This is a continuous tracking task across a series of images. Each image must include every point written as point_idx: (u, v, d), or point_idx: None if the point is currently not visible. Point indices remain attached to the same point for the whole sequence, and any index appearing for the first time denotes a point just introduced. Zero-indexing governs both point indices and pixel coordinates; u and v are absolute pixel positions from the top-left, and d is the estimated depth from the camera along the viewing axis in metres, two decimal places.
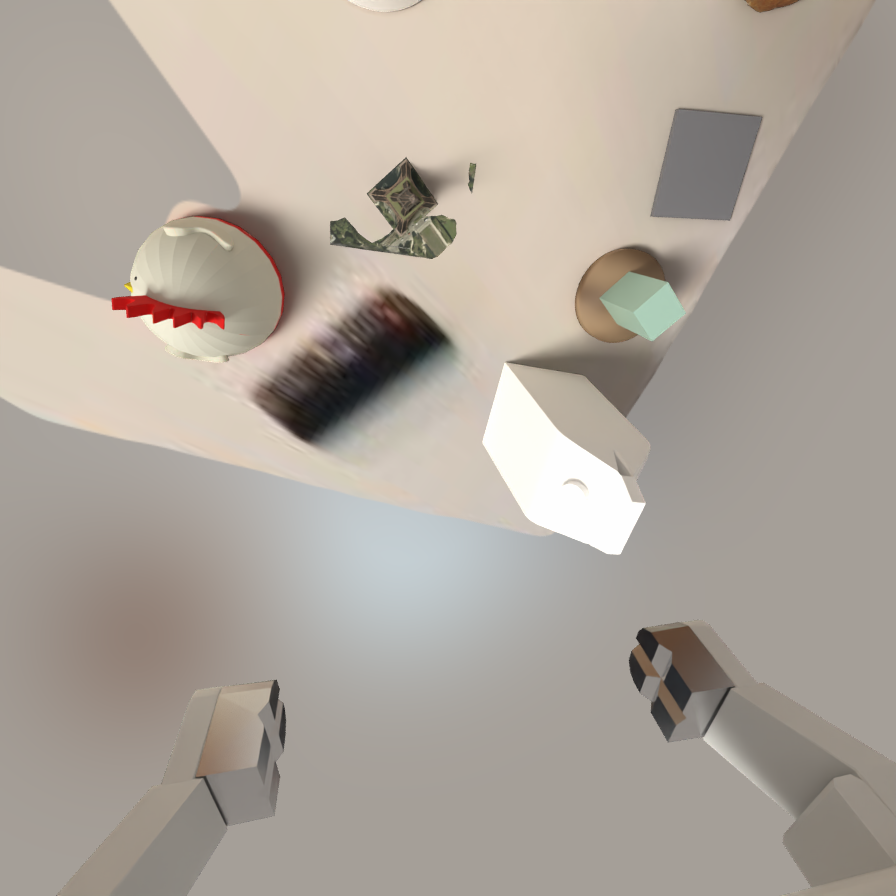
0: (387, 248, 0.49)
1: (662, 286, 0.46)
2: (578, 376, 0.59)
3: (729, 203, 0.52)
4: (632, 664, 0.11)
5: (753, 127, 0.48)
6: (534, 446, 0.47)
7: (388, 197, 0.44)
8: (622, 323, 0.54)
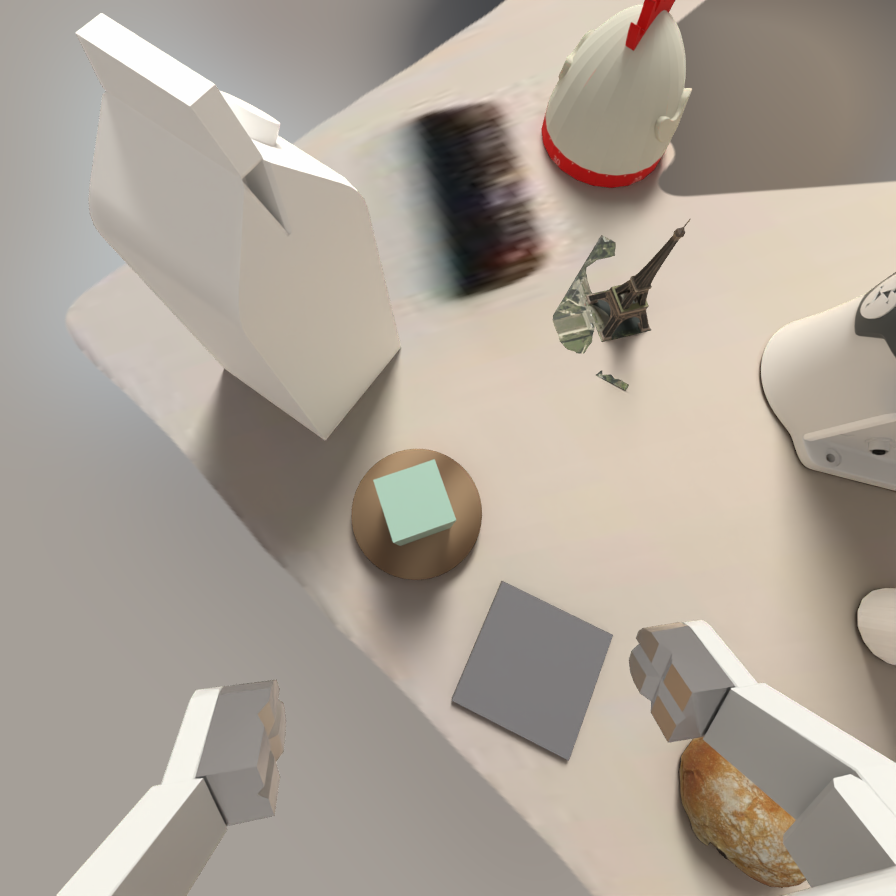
0: (579, 280, 0.45)
1: (452, 511, 0.30)
2: (331, 426, 0.39)
3: (475, 701, 0.35)
4: (632, 664, 0.11)
5: (560, 745, 0.35)
6: None
7: None
8: None
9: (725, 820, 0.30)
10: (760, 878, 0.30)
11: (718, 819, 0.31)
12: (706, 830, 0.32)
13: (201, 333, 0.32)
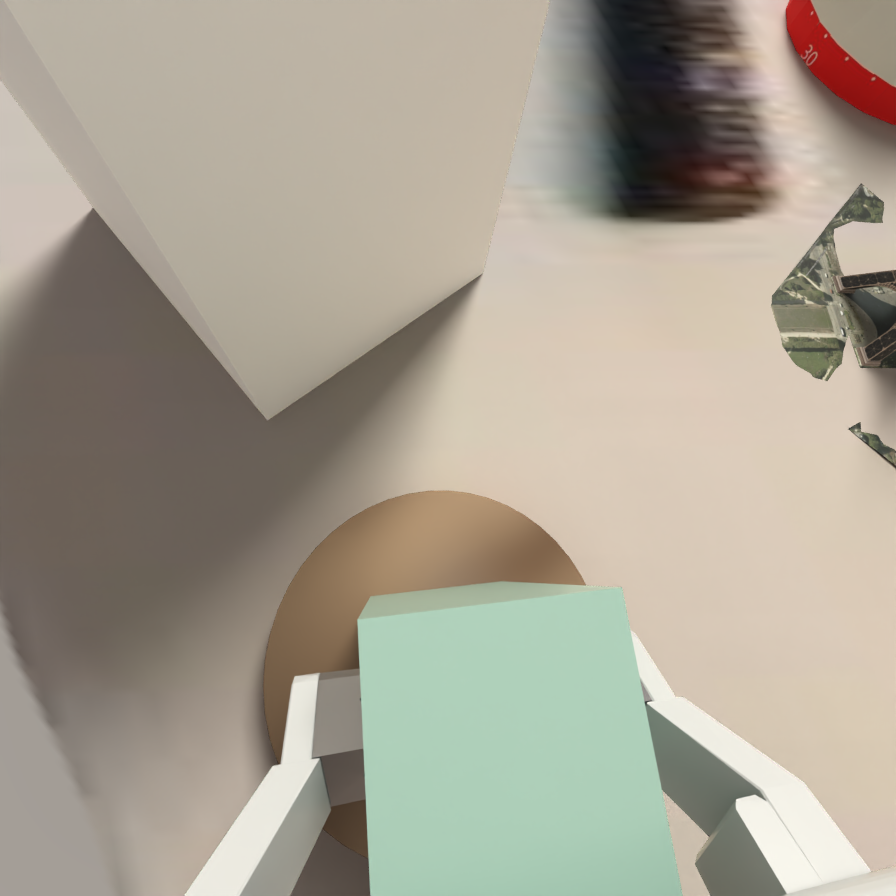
0: (821, 246, 0.24)
1: (668, 850, 0.07)
2: (289, 389, 0.16)
3: None
4: None
5: None
6: None
7: None
8: (398, 596, 0.12)
9: None
10: None
11: None
12: None
13: None
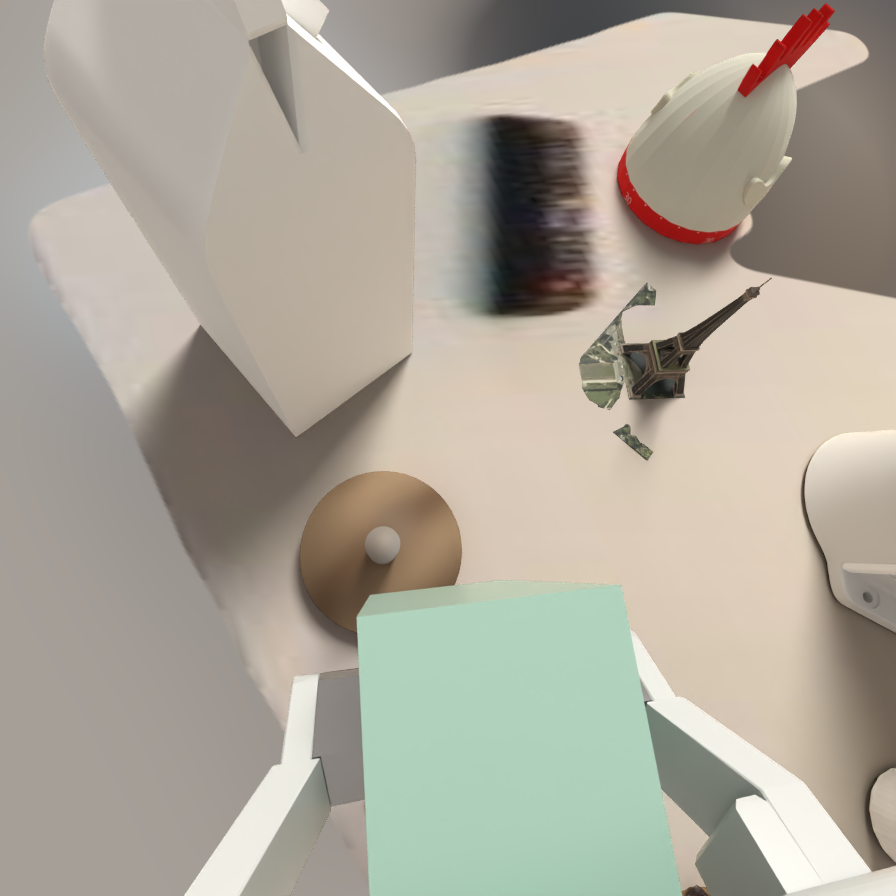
0: (615, 325, 0.40)
1: (667, 847, 0.07)
2: (307, 422, 0.33)
3: None
4: None
5: None
6: None
7: None
8: (398, 594, 0.12)
9: None
10: None
11: None
12: None
13: (173, 270, 0.25)
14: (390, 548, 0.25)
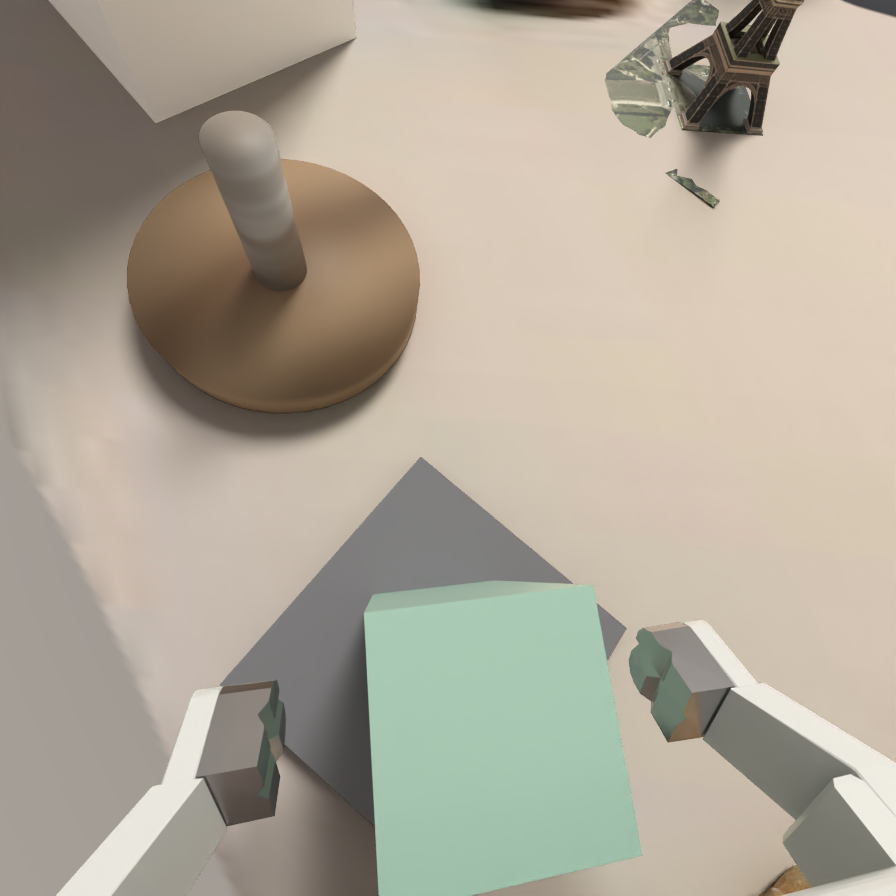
0: (656, 39, 0.27)
1: (629, 808, 0.08)
2: (171, 88, 0.20)
3: None
4: (632, 664, 0.11)
5: None
6: None
7: None
8: (399, 594, 0.14)
9: None
10: None
11: None
12: None
13: None
14: (252, 147, 0.12)
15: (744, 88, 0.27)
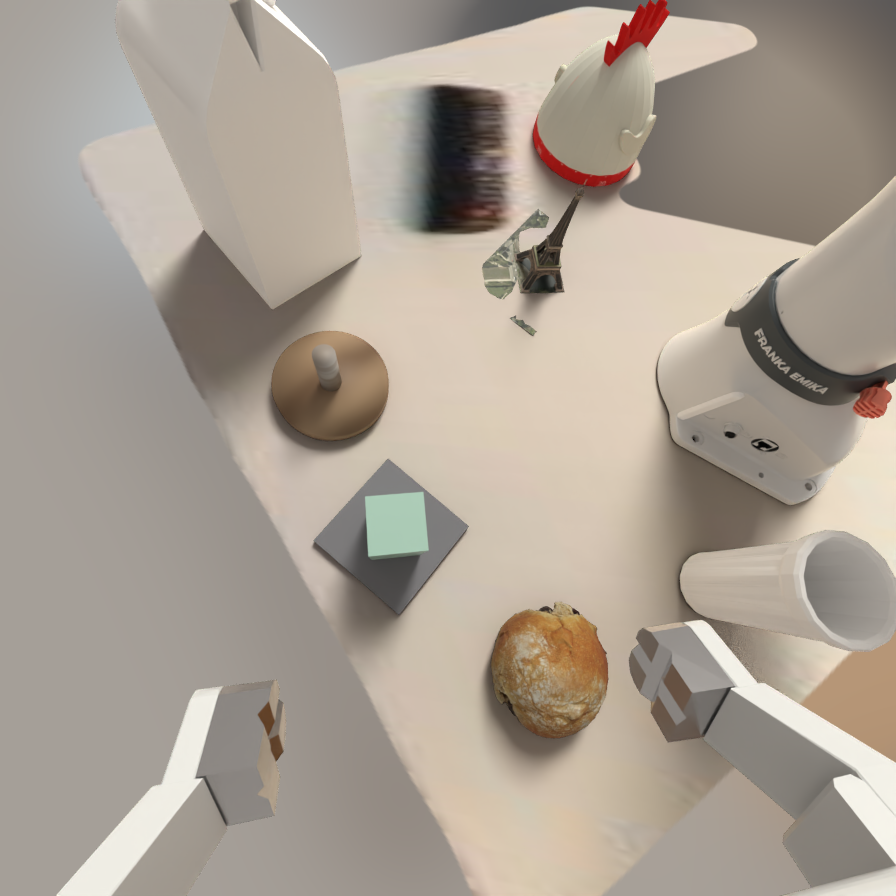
0: (511, 240, 0.52)
1: (427, 542, 0.33)
2: (280, 296, 0.45)
3: (333, 546, 0.40)
4: (632, 664, 0.11)
5: (395, 601, 0.39)
6: None
7: None
8: None
9: (515, 665, 0.35)
10: (531, 721, 0.35)
11: (510, 665, 0.36)
12: (500, 678, 0.36)
13: (185, 169, 0.38)
14: (328, 357, 0.38)
15: None
